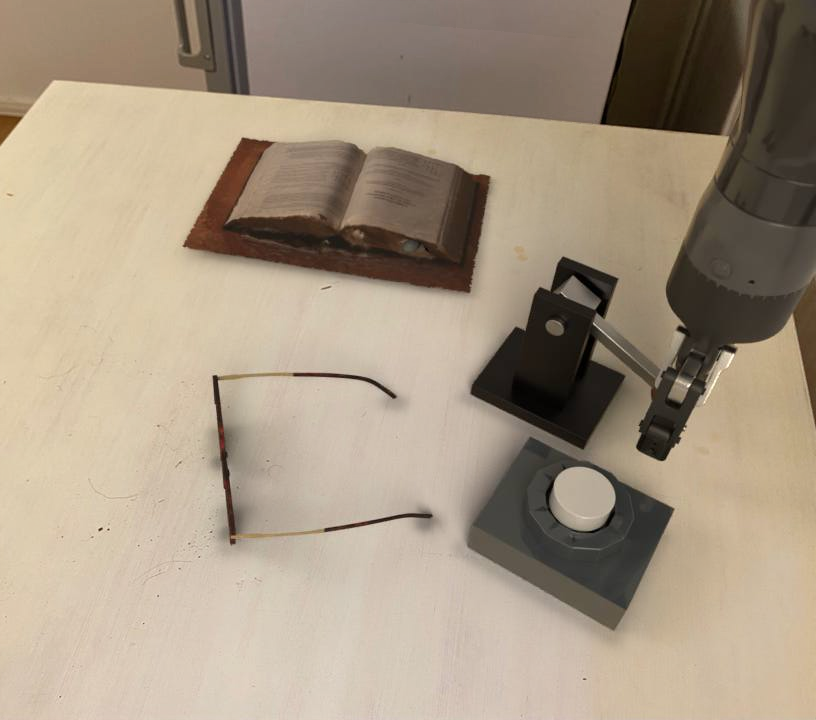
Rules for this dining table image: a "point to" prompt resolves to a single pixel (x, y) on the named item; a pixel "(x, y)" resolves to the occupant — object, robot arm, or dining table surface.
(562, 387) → the lever bracket
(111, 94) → the dining table surface
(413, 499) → the dining table surface
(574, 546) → the button housing
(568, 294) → the flush lever
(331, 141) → the book
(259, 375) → the sunglasses
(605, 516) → the white push button
